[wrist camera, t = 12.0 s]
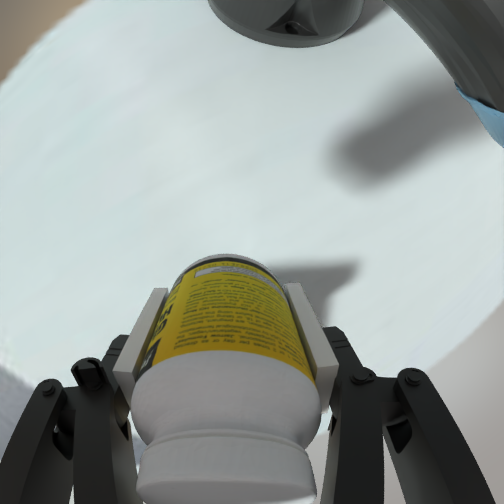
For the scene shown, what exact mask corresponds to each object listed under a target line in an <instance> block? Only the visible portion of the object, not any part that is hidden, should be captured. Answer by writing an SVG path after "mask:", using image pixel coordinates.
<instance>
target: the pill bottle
mask: <svg viewBox="0 0 504 504" xmlns="http://www.w3.org/2000/svg"><path fill="white" fill-rule="evenodd" d="M321 414H322V410H321V402H320V397H319V393H318V390H317V387H316V384H315V381H314V378H313V375H312V372H311V369H310V366H309V363H308V360H307V357H306V355H305V352H304V349H303V346H302V343H301V340H300V337H299V334H298V331H297V328H296V325H295V322H294V319H293V316H292V313H291V311H290V308H289V305H288V302H287V299H286V296H285V294H284V291H283V289H282V286H281V285H280V283H279V281H278V280H277V278H276V277H275V275H274V274H273V273H272V272H271V271H270V270H269V269H268V268H266V267H265V266H264V265H262V264H261V263H259V262H257V261H255V260H253V259H250V258H248V257H244V256H240V255H235V254H218V255H212V256H208V257H205V258H203V259H200V260H198V261H196V262H194V263H193V264H191V265H190V266H189V267H187V268H186V269H185V270H184V271H183V272H182V273H181V274H180V276H179V277H178V278H177V280H176V282H175V283H174V285H173V287H172V289H171V291H170V293H169V296H168V298H167V301H166V304H165V306H164V309H163V311H162V314H161V316H160V318H159V321H158V323H157V325H156V328H155V331H154V334H153V336H152V339H151V341H150V344H149V347H148V349H147V353H146V355H145V358H144V361H143V363H142V366H141V369H140V372H139V374H138V377H137V380H136V385H135V387H134V390H133V394H132V399H131V415H132V420H133V423H134V426H135V428H136V430H137V432H138V434H139V436H140V437H141V439H142V440H143V441H144V442H145V444H146V445H147V447H146V449H145V451H144V453H143V455H142V456H141V460H140V468H139V473H138V479H137V484H136V491H137V494H138V496H139V498H140V499H141V500H142V501H144V502H145V503H146V504H312V503H313V502H314V500H315V499H316V497H317V489H316V484H315V479H314V474H313V470H312V466H311V462H310V460H309V458H308V454H307V453H306V451H305V449H306V448H307V447H308V445H309V444H310V443H311V442H312V440H313V439H314V437H315V435H316V433H317V431H318V429H319V426H320V422H321Z"/></svg>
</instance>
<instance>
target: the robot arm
mask: <svg viewBox="0 0 504 504" xmlns="http://www.w3.org/2000/svg"><path fill="white" fill-rule="evenodd" d="M383 1H385V2H386V3H387V4H388V5H389V6H390V7H391V8H392V9H393V10H394V11H395V12H396V13H397V14H398V15H399V16H401V17H402V18H403V19H404V20H405V22H406V23H407V24H408V25H409V26H410V27H411V28H412V29H413V30H414V31H415V32H416V33H417V34H418V35H419V36H420V38H421V39H422V40H423V41H424V42H425V43H426V44H427V46H428V47H429V48H430V49H431V50H432V52H433V53H434V54H435V55H436V57H437V58H438V59H439V60H440V62H441V63H442V64H443V65H444V67H445V68H446V69H447V71H448V72H449V74H450V75H451V76H452V78H453V79H454V81H455V85H456V89H457V90H458V92H459V93H460V94H461V96H462V97H463V98H464V99H465V100H467V101H468V102H469V103H470V105H471V106H472V108H473V109H474V111H475V112H476V114H477V116H478V117H479V119H480V120H481V122H482V124H483V125H484V127H485V129H486V130H487V131H488V133H489V134H490V135H491V137H492V138H493V139H494V140H495V141H496V142H497V143H498V144H499V145H501V146H502V147H503V148H504V0H383ZM208 2H209V5H210V7H211V9H212V10H213V12H214V13H215V14H216V16H217V17H218V18H219V19H220V20H221V21H222V22H223V23H224V24H226V25H227V26H228V27H230V28H231V29H233V30H234V31H236V32H238V33H239V34H241V35H243V36H246V37H248V38H250V39H253V40H255V41H258V42H262V43H265V44H269V45H274V46H280V47H289V48H306V47H314V46H319V45H323V44H326V43H329V42H331V41H334V40H336V39H337V38H339V37H340V36H342V35H343V34H344V33H345V32H346V31H347V30H348V29H349V28H350V27H351V26H353V25H354V23H355V22H356V21H357V19H358V18H359V16H360V14H361V12H362V9H363V4H364V0H208ZM168 296H169V293H168V288H154V290H153V292H152V293H151V295H150V297H149V299H148V301H147V303H146V305H145V306H144V308H143V310H142V312H141V314H140V316H139V318H138V320H137V322H136V324H135V326H134V327H133V329H132V331H131V333H130V335H119V336H118V337H117V338H115V339H114V340H113V341H112V343H111V345H110V347H109V349H108V350H107V352H106V355H105V356H104V358H103V359H102V361H100V360H99V359H96V358H89V357H88V358H84V359H81V360H79V361H77V362H76V363H75V364H74V365H73V366H72V368H71V372H72V374H73V376H74V378H75V380H76V382H77V384H78V386H76V387H65V388H63V386H62V384H61V383H60V382H59V381H58V380H56V379H47V380H44V381H42V382H41V383H39V384H38V386H37V387H36V389H35V390H34V392H33V394H32V396H31V398H30V400H29V402H28V404H27V405H26V407H25V409H24V411H23V413H22V415H21V417H20V419H19V421H18V424H17V426H16V428H15V430H14V432H13V434H12V436H11V439H10V441H9V443H8V445H7V448H6V450H5V453H4V455H3V458H2V460H1V463H0V504H69V500H70V496H71V491H72V487H74V504H143V501H142V500H141V499H140V498H139V496H138V494H137V491H136V484H137V479H138V475H137V470H136V463H135V457H134V450H133V442H132V434H131V425H130V422H129V420H128V418H127V417H128V414H129V411H131V399H132V394H133V390H134V387H135V385H136V380H137V377H138V374H139V372H140V369H141V366H142V363H143V361H144V358H145V355H146V353H147V349H148V347H149V344H150V341H151V339H152V336H153V334H154V331H155V328H156V325H157V323H158V321H159V318H160V316H161V314H162V311H163V309H164V306H165V304H166V301H167V298H168ZM285 296H286V299H287V302H288V305H289V308H290V311H291V313H292V316H293V319H294V322H295V325H296V328H297V331H298V334H299V337H300V340H301V343H302V346H303V349H304V352H305V355H306V357H307V360H308V363H309V366H310V369H311V372H312V375H313V378H314V381H315V384H316V387H317V390H318V393H319V397H320V402H321V410H322V414H324V413H328V409H329V405H330V407H331V410H332V413H333V414H332V417H331V420H330V424H329V427H328V430H330V433H329V444H328V452H327V460H326V468H325V476H324V483H323V489H322V495H321V501H320V504H384V451H383V436H384V439H385V441H386V444H387V447H388V450H389V453H390V456H391V459H392V461H393V464H394V467H395V470H396V473H397V476H398V479H399V482H400V485H401V489H402V492H403V495H404V498H405V501H406V504H496V503H495V501H494V498H493V496H492V494H491V492H490V489H489V487H488V485H487V483H486V480H485V478H484V476H483V474H482V472H481V470H480V468H479V466H478V464H477V462H476V460H475V458H474V456H473V454H472V452H471V450H470V448H469V446H468V444H467V443H466V440H465V439H464V437H463V435H462V433H461V431H460V429H459V428H458V426H457V424H456V422H455V421H454V419H453V417H452V415H451V414H450V412H449V410H448V408H447V407H446V405H445V404H444V402H443V400H442V398H441V397H440V395H439V393H438V392H437V390H436V389H435V387H434V385H433V384H432V382H431V381H430V379H429V377H428V376H427V375H426V374H425V373H424V372H423V371H421V370H419V369H416V368H406V369H403V370H401V371H400V372H399V373H398V376H397V378H387V377H377V376H376V374H375V373H374V372H373V371H372V370H370V369H368V368H366V367H363V366H362V364H361V362H360V360H359V359H358V357H357V355H356V353H355V352H354V350H353V348H352V347H351V344H350V343H349V341H348V339H347V337H346V336H345V334H344V332H343V331H341V330H340V329H339V328H337V327H336V326H334V327H325V328H322V327H321V325H320V323H319V321H318V319H317V317H316V315H315V313H314V311H313V309H312V307H311V305H310V303H309V301H308V299H307V297H306V295H305V293H304V291H303V289H302V287H301V284H300V282H298V283H285ZM55 426H56V429H55V430H54V428H55Z"/></svg>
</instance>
